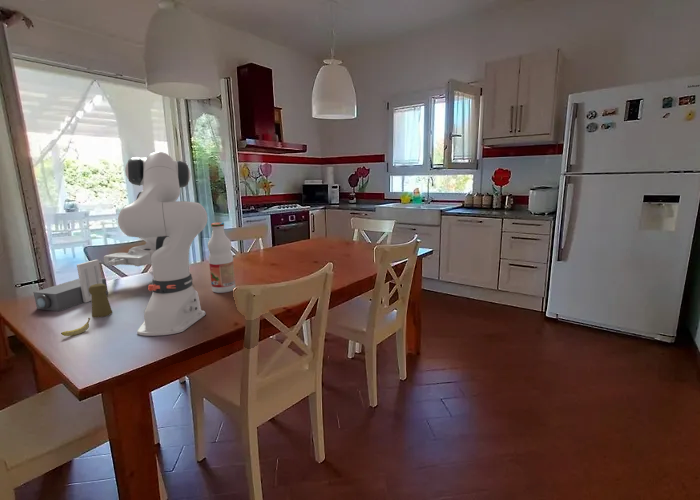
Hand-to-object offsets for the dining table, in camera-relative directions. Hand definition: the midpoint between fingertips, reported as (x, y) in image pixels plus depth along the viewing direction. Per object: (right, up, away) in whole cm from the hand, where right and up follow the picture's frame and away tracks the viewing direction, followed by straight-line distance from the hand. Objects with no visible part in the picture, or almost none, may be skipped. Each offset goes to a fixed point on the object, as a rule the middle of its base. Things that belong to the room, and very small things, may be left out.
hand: (111, 263), depth 152 cm
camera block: (-10, -14, -7) cm, 19 cm away
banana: (+14, -21, -37) cm, 45 cm away
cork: (+11, -17, -22) cm, 30 cm away
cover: (-3, -14, -6) cm, 15 cm away
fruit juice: (+46, -11, +2) cm, 47 cm away
